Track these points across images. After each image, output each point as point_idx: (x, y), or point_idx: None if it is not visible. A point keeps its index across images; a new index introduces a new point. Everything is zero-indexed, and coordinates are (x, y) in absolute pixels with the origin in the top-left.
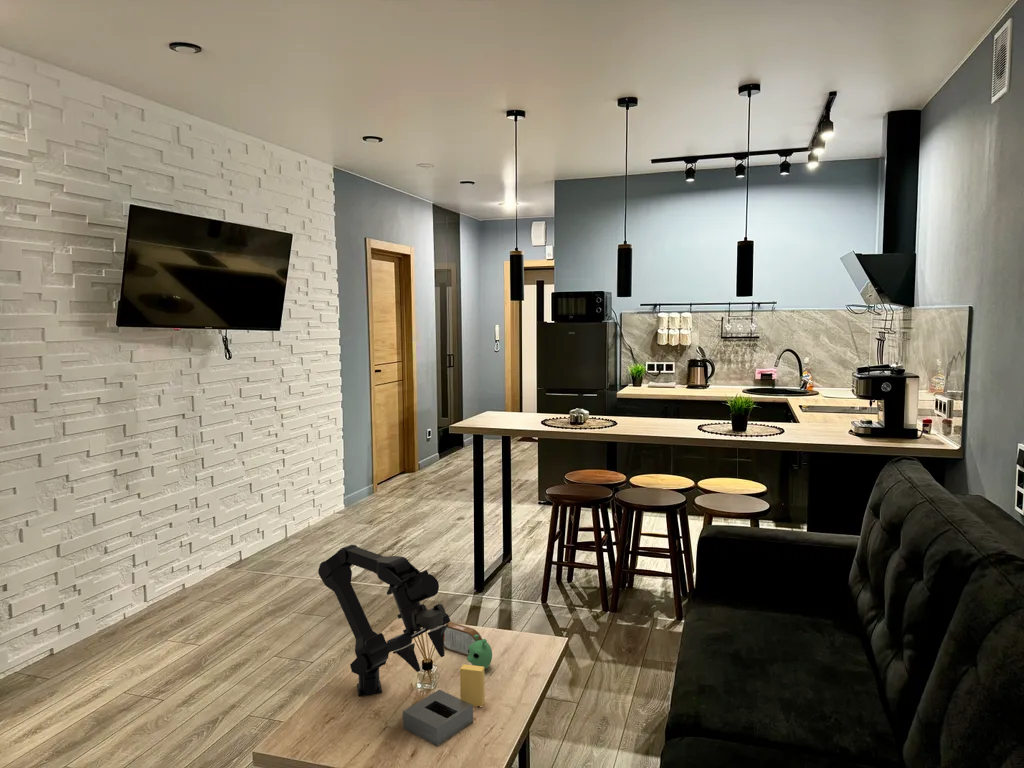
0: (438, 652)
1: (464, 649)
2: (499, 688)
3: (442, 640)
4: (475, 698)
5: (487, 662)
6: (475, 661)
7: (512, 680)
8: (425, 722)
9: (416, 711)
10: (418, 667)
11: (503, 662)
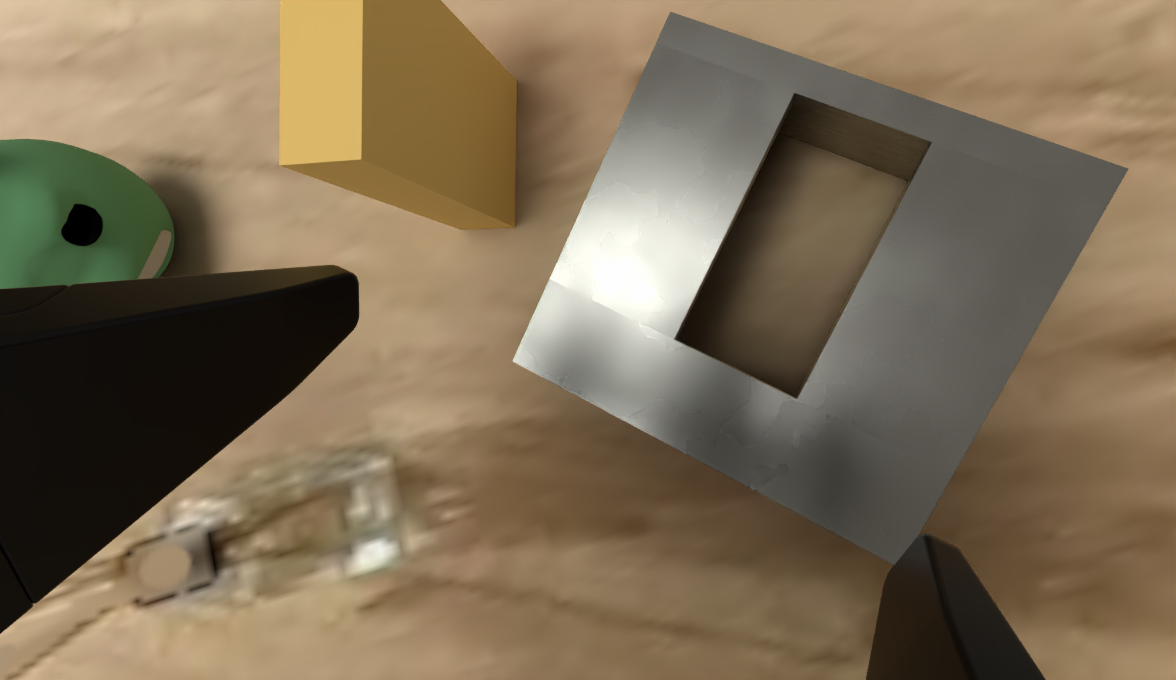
0: (295, 376)
1: None
2: None
3: (28, 306)
4: (493, 106)
5: (118, 166)
6: (127, 236)
7: (224, 15)
8: (1046, 308)
9: (877, 446)
10: (980, 596)
11: (79, 136)
